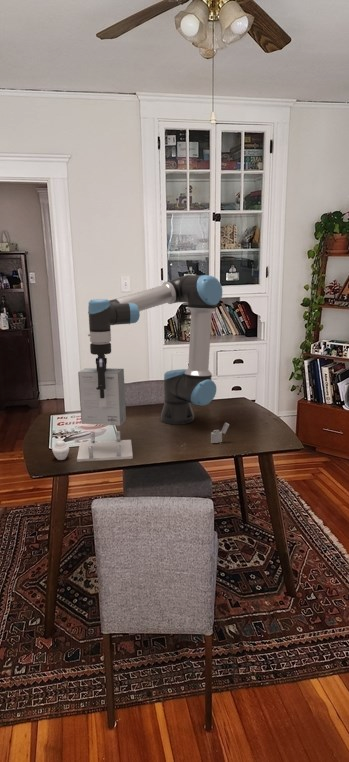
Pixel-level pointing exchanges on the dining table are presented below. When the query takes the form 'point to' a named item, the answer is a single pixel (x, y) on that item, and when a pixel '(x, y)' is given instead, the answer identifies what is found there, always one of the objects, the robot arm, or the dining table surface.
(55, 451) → the white lidded jar
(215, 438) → the lighter
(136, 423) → the dining table surface
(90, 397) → the hard drive box
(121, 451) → the pin tray
